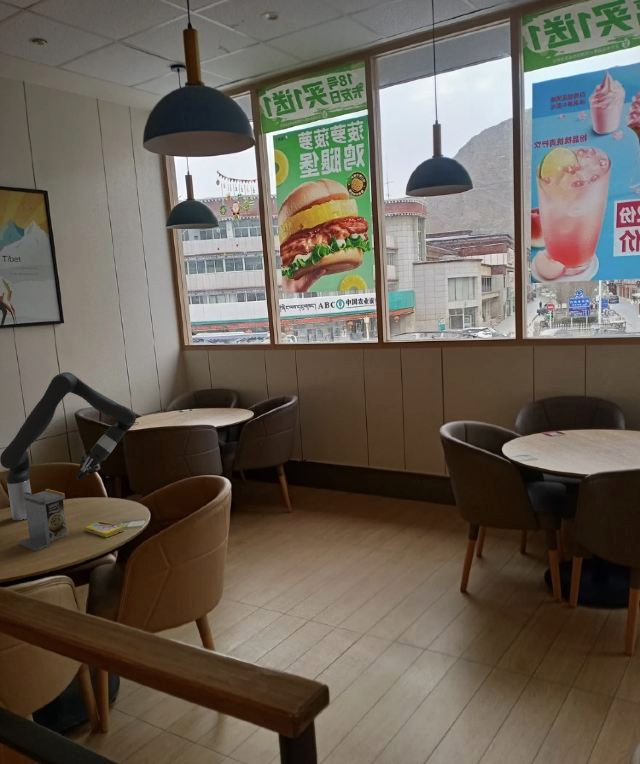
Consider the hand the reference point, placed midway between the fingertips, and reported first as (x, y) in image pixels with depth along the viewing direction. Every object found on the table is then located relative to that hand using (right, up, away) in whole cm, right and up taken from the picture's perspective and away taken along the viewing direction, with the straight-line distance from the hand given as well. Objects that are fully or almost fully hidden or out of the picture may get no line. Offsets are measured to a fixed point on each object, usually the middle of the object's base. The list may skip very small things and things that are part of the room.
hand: (78, 479), depth 268 cm
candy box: (+18, -18, -7) cm, 26 cm away
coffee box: (-5, -22, -14) cm, 26 cm away
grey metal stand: (-7, -22, -17) cm, 29 cm away
